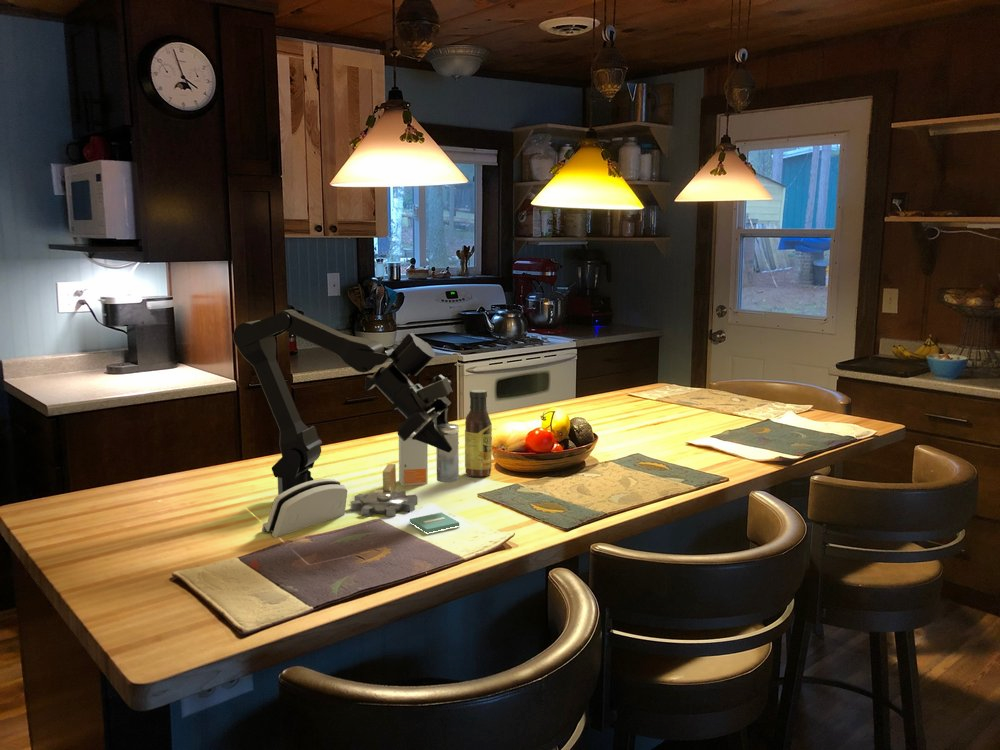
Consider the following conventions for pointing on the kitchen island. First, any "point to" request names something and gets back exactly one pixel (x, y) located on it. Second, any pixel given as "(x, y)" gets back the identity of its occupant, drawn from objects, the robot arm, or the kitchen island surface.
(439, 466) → the roller
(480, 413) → the sauce bottle
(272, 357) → the robot arm
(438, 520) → the pad
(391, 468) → the sprocket
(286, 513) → the white rounded block
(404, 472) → the skincare box
